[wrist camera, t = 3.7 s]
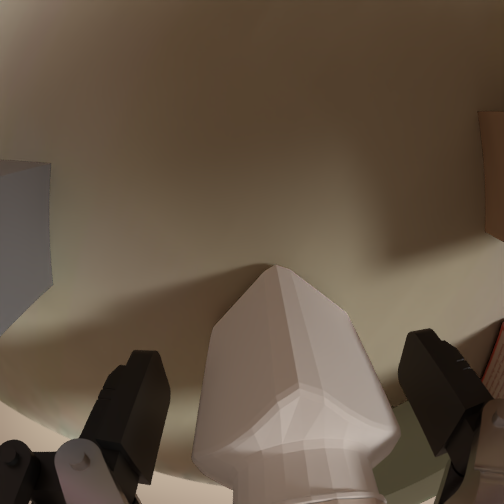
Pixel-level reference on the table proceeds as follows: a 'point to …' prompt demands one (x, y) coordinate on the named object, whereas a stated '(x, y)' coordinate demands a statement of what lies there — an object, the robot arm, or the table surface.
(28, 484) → the robot arm
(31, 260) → the slate grey block
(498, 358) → the cracker box
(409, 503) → the sage green block
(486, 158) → the walnut block
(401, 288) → the table surface
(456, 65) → the table surface
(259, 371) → the salt shaker
